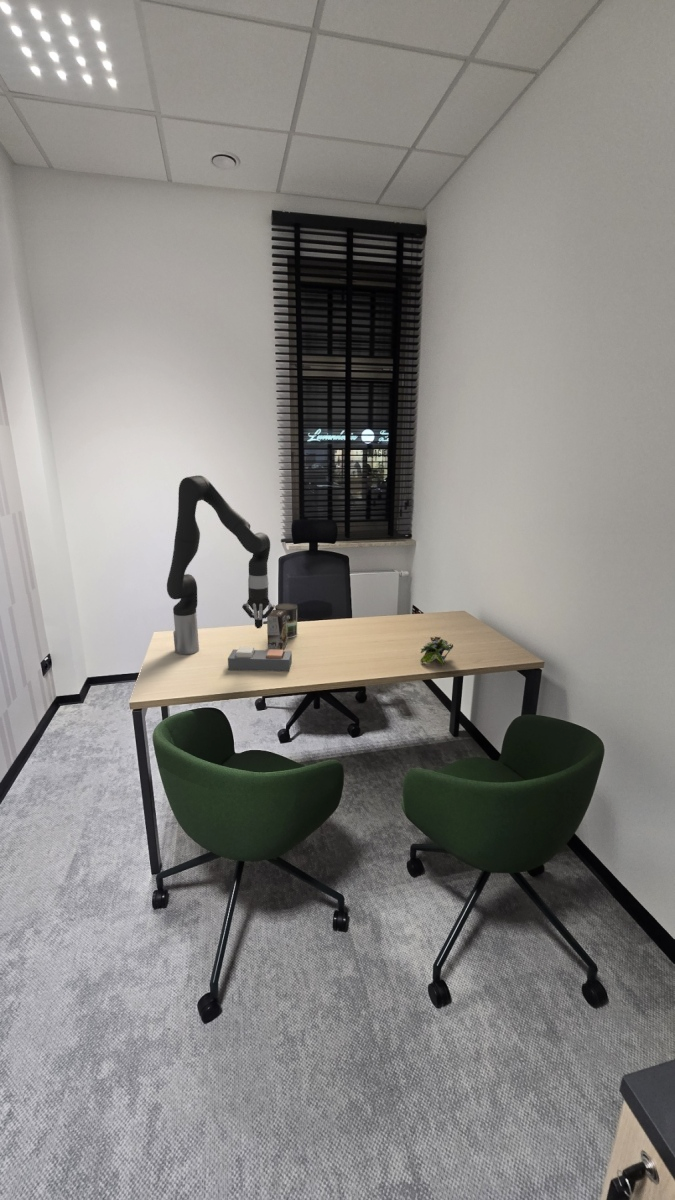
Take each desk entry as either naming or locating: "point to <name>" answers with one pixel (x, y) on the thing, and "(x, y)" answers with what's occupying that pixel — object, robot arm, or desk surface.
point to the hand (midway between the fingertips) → (258, 627)
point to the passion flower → (435, 650)
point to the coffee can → (290, 618)
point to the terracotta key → (275, 653)
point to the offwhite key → (245, 652)
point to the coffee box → (277, 629)
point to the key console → (260, 662)
